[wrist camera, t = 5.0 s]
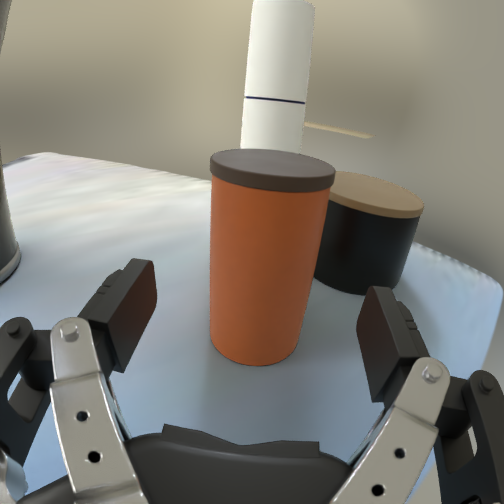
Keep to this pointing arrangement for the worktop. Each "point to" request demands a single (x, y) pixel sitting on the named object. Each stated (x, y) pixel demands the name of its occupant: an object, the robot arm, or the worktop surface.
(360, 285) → the black canister
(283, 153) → the orange tin
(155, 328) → the worktop surface
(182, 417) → the worktop surface
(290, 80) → the cylindrical container
